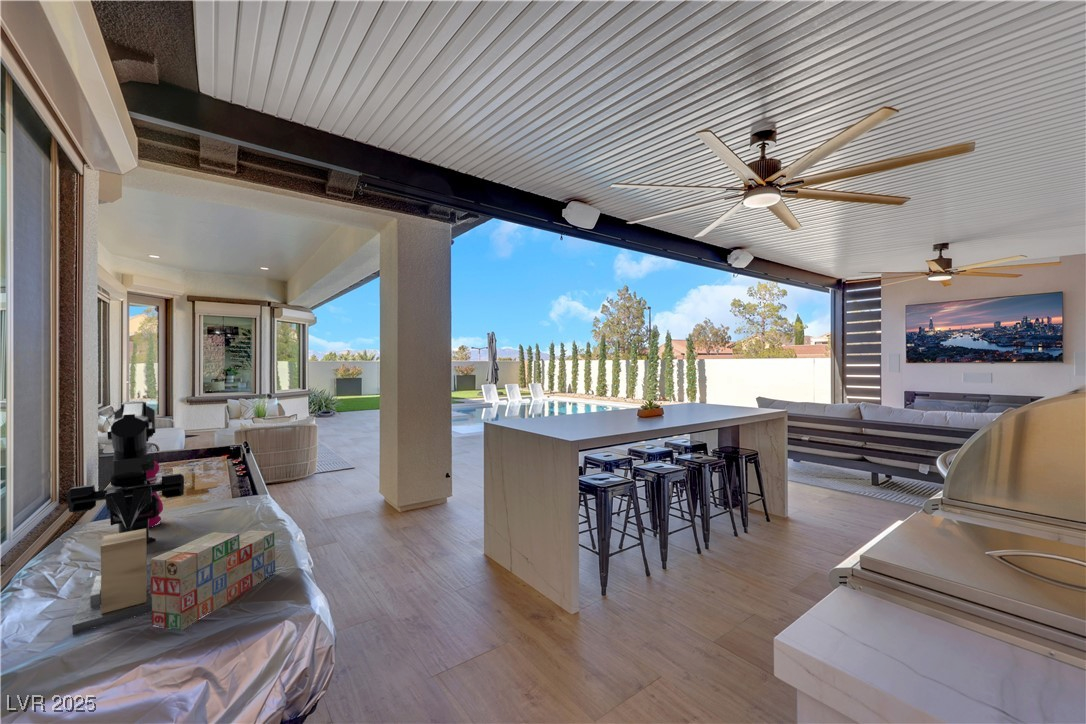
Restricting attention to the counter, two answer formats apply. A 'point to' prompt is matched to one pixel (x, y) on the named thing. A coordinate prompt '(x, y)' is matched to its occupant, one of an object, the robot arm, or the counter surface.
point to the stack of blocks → (208, 575)
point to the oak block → (123, 570)
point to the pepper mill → (153, 479)
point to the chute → (91, 606)
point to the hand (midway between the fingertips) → (128, 526)
